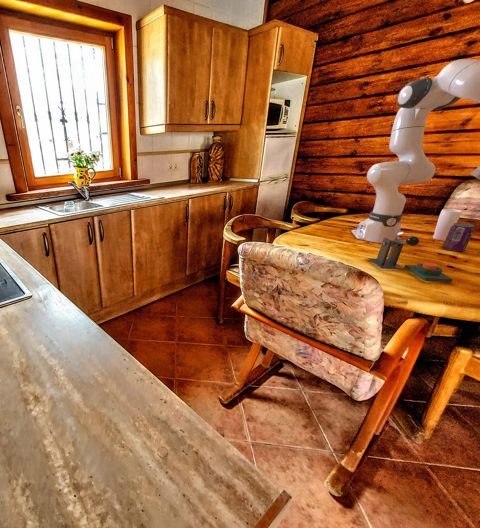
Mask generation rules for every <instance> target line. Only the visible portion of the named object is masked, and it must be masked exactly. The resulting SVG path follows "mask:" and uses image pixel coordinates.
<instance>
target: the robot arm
mask: <svg viewBox="0 0 480 528" xmlns="http://www.w3.org/2000/svg"><path fill="white" fill-rule="evenodd" d="M460 99H463V100H466V101H472V102H475V103H479V104H480V59H473V58H461V59H457V60H453V61H452V62H449V63H448V64H447V65H446V66H444V67H443V68H442V70H440V72H439V73H438V74H437V75H436V76H434V77H429V76H425V77H423V78H419V79H416V80H413V81H410V82H408V83H406V84H405V85H404V86H403V87H402V88H401V89H400V91H399V92H398V94H397V98H396V104H397V106H398V107H399V109H398V110H397V112H396V116H395V117H394V121H393V123H392V128H391V133H390V139H389V144H388V148H389V152H391V153H392V154H395V155H396V156H397V158H398V160H395V161H383V162H379V163H375V164H373V165H372V166H370V167H369V169H368V171H367V173H366V180H367V182H368V183H369V184H370V185H371V186H372V188H373V189H374V191H375V202H374V205H373V209H372V211H370V212H369V215H368V217H367V218H366V219H365V220H362V221H360V222H359V223H358V224H357V226H356V228H355V229H352V230H351V231H350V232H351V233H352V234H353V236H354V237H355V239H356V240H361V241H367V242H371V243H376V244H382V242H383V239H384V238H388V239H389V240H395V238H399V239H401V238H400V237H399V236H400V235H402V234H403V233H404V232H403V231H402V232H401V229H402V228H401V227H402V224H401V223H400V222H401V220H402V218H403V211H404V208H405V205H406V203H407V198H406V196H405V195H404V194H403V193H401V192H399V186H408V185H409V186H412V185H418V184H423V183H428V182H429V181H430V180H431V179H432V178H433V177H434V175H435V173H436V166H435V164H434V163H433V162H432V161H431V160H429V159H428V157H427V156H426V154H425V151H424V149H423V144H424V143H423V141H424V135H425V130H426V123H427V119H428V116H429V114H430V113H431V112H433V111H434V112H439V111H441V110H443V109H444V108H446V107H449V106H451V105H454V104H455V103H457V102H458V101H459V100H460ZM470 175H471V176H473V177H475V178H476V179H477V180H479V181H480V165H478V166H477V167H476V168H475V169H474V170H473V171H472V172H470Z"/></svg>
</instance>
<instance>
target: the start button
mask: <svg viewBox="0 0 480 528" xmlns="http://www.w3.org/2000/svg"><path fill="white" fill-rule="evenodd" d="M422 264H423V265H422V267H423V268H426V269H431V270H437V267H439V264H437V263H435V262H432V261H431V262H430V261H424V262H423V263H422Z"/></svg>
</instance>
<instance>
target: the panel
mask: <svg viewBox="0 0 480 528" xmlns="http://www.w3.org/2000/svg"><path fill="white" fill-rule="evenodd" d="M422 265H423V263H417V264H405V265H404V267H403V268H404V269H405V270H407V271H408V272H410V273H412V274H413V275H415V276H416V277H418V279H419V278H420V279H421V280H422V281H424V282H438V283H452V281H453V279H454V278H452V277H450V276H448V275H446V274H445V273H443V268H442V267H440V266H438V267H437V270H431V269H426V268H423V267H422Z"/></svg>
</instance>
